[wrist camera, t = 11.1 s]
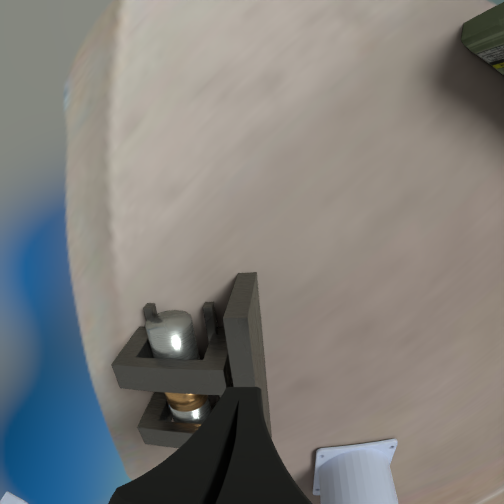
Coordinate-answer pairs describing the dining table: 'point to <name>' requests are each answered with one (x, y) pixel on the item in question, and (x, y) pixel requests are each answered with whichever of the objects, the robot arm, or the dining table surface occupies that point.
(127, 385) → the collar fixture
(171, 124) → the dining table surface
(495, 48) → the handheld radio
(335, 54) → the dining table surface
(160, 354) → the tube
